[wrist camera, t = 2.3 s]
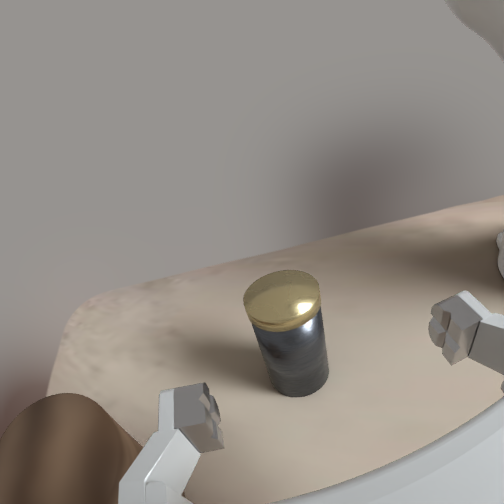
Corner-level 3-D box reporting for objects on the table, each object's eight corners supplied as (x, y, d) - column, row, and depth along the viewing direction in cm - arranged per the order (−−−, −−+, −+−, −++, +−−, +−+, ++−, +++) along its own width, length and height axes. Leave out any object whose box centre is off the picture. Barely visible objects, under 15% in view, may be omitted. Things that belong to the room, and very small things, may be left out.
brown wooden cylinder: (182, 447, 24) (125, 382, 19) (195, 569, 13) (116, 553, 8) (77, 456, 23) (12, 398, 19) (69, 558, 13) (-19, 520, 8)
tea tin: (318, 343, 31) (305, 262, 26) (338, 385, 26) (330, 303, 21) (264, 361, 31) (238, 283, 26) (277, 405, 26) (250, 329, 21)
